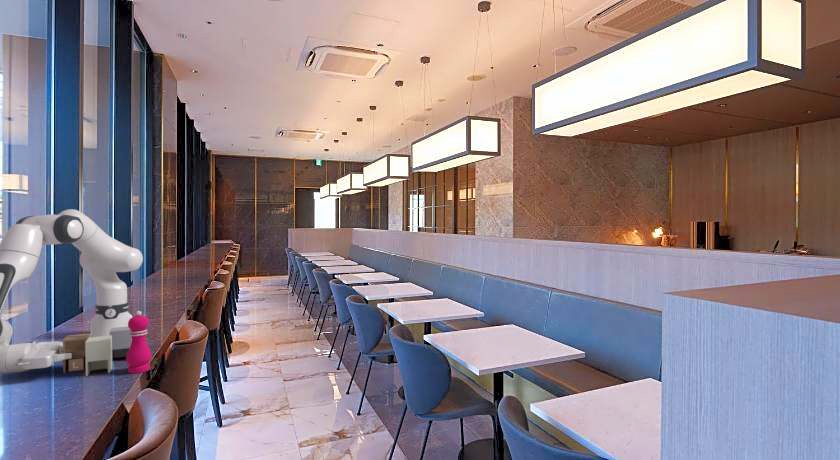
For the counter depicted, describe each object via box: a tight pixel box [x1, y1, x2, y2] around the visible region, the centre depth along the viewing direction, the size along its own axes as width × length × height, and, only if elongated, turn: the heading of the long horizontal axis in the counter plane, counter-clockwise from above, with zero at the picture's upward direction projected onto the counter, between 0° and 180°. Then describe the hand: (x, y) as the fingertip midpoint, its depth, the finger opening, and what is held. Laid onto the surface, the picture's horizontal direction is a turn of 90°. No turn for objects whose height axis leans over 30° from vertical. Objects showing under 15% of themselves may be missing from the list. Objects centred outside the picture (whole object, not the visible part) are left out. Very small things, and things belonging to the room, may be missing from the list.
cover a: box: [62, 332, 91, 374], centre depth 152 cm, size 6×6×11 cm
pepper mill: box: [125, 310, 153, 375], centre depth 151 cm, size 7×7×20 cm
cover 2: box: [109, 327, 132, 361], centre depth 163 cm, size 6×6×11 cm
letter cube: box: [68, 357, 85, 372], centre depth 152 cm, size 4×4×4 cm
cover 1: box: [85, 335, 113, 377], centre depth 150 cm, size 6×6×11 cm
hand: (75, 351), depth 152 cm, fingers open, 8 cm apart
